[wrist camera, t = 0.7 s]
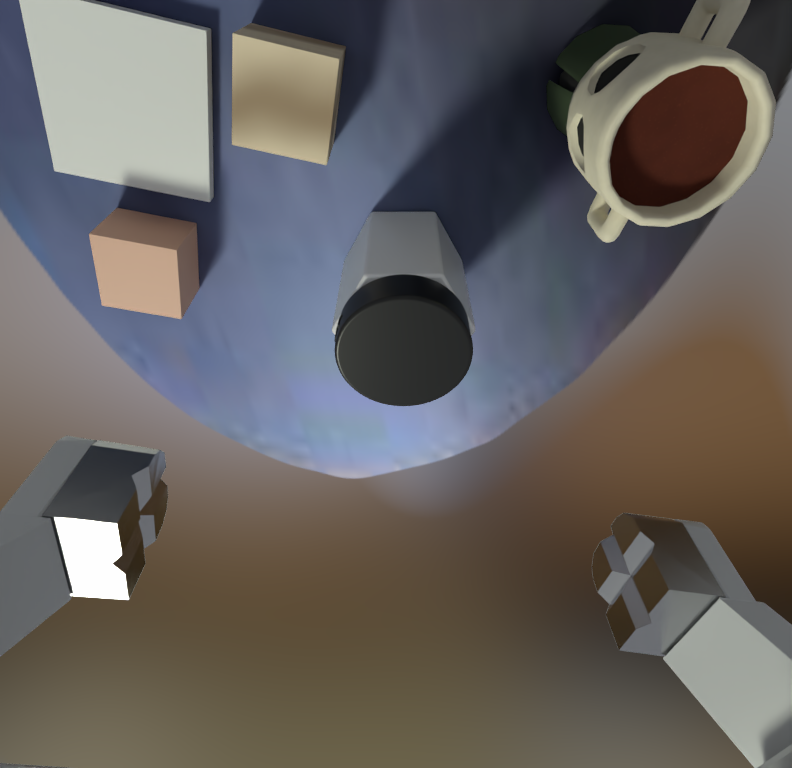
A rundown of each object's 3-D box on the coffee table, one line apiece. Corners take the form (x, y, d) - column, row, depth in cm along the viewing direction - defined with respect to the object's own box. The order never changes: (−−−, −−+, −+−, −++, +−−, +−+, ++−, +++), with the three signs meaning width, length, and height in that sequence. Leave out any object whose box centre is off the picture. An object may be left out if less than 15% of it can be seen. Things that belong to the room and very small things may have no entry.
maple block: (251, 22, 30) (232, 33, 27) (346, 45, 31) (339, 59, 27) (248, 123, 34) (231, 144, 30) (333, 142, 34) (326, 165, 31)
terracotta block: (117, 207, 37) (89, 233, 34) (197, 222, 38) (176, 250, 34) (127, 274, 41) (102, 305, 37) (199, 287, 41) (181, 318, 38)
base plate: (26, -17, 29) (16, -16, 28) (211, 28, 30) (206, 30, 29) (62, 166, 35) (54, 170, 34) (213, 196, 36) (209, 202, 36)
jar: (324, 238, 38) (300, 331, 29) (421, 181, 36) (428, 264, 27) (386, 326, 43) (383, 428, 34) (476, 282, 41) (498, 381, 32)
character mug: (586, -47, 28) (689, -41, 18) (702, -5, 29) (859, 23, 19) (507, 158, 35) (550, 245, 25) (603, 186, 36) (681, 279, 26)
